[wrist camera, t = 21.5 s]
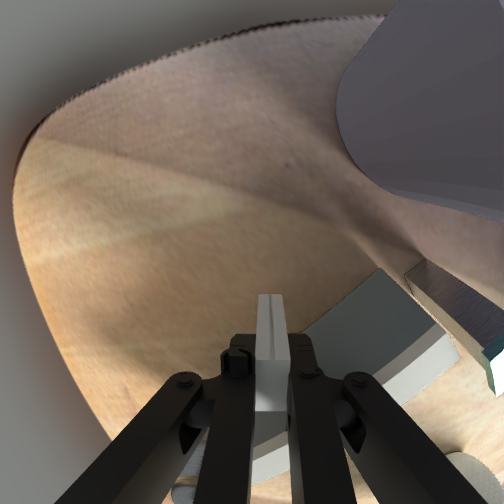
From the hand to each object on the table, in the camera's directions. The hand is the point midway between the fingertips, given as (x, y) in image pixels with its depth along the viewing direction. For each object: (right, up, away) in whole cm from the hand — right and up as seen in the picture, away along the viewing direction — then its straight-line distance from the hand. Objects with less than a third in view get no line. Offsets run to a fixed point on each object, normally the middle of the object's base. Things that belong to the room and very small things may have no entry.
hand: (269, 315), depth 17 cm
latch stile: (+10, +2, +1) cm, 11 cm away
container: (+9, +12, -1) cm, 15 cm away
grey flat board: (+2, -2, +2) cm, 4 cm away
